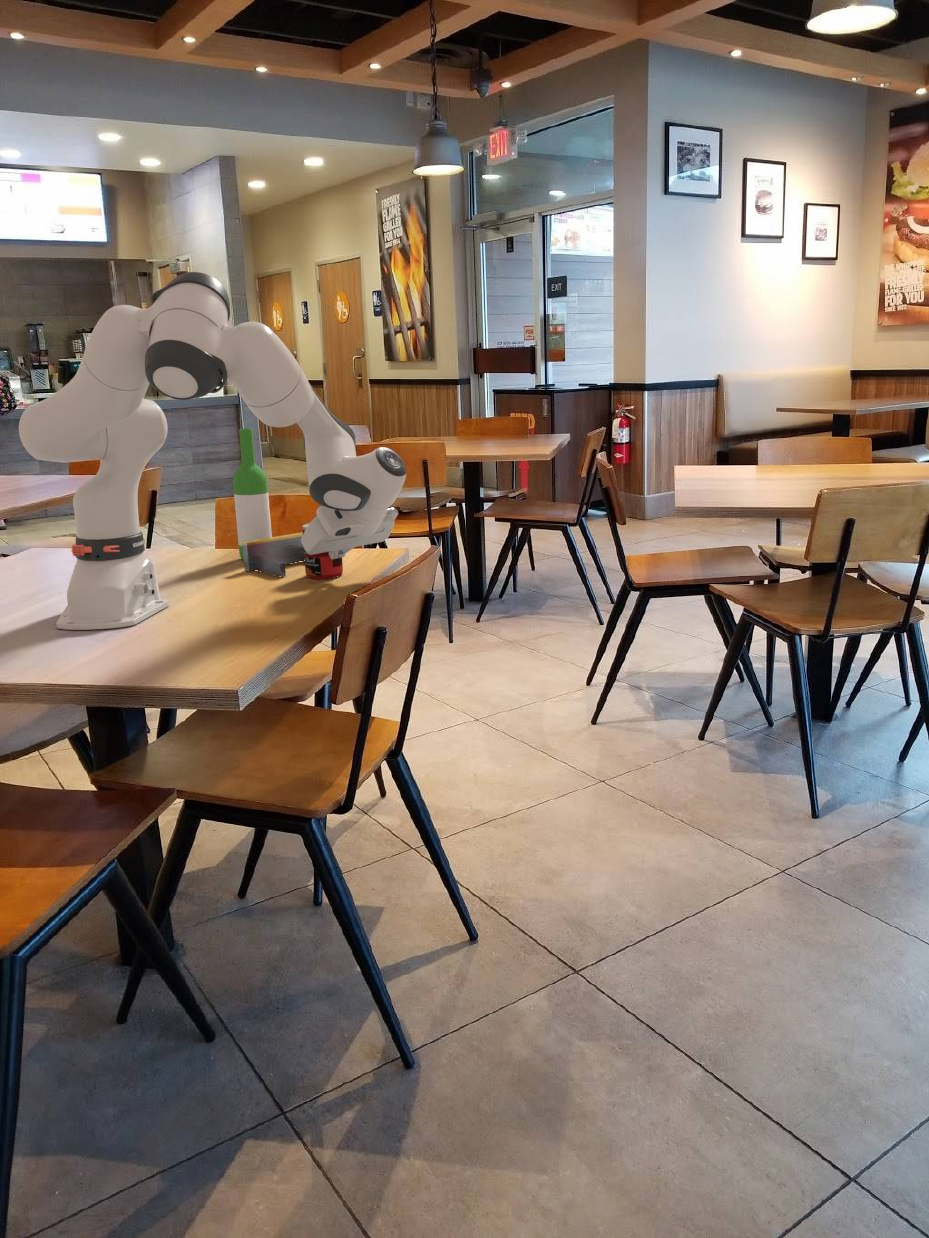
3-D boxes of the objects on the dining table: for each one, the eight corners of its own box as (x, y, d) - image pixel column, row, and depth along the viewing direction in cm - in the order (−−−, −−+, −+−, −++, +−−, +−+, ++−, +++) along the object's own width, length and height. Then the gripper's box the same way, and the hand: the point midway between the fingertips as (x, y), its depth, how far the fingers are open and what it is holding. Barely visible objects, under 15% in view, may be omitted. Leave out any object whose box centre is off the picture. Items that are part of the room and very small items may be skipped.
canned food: (301, 574, 206) (297, 524, 203) (336, 570, 209) (332, 520, 207) (312, 581, 199) (308, 529, 196) (348, 576, 203) (345, 525, 200)
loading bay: (343, 565, 214) (341, 536, 213) (273, 578, 203) (271, 548, 201) (312, 558, 223) (310, 530, 221) (244, 571, 211) (242, 542, 209)
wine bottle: (257, 554, 230) (246, 427, 222) (280, 557, 225) (270, 428, 217) (232, 560, 223) (220, 430, 216) (256, 563, 219) (244, 430, 211)
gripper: (393, 495, 198) (368, 537, 208) (310, 508, 185) (287, 551, 195) (408, 519, 196) (382, 559, 206) (325, 533, 183) (301, 576, 192)
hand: (335, 555), depth 200 cm, fingers closed, pressing on canned food
